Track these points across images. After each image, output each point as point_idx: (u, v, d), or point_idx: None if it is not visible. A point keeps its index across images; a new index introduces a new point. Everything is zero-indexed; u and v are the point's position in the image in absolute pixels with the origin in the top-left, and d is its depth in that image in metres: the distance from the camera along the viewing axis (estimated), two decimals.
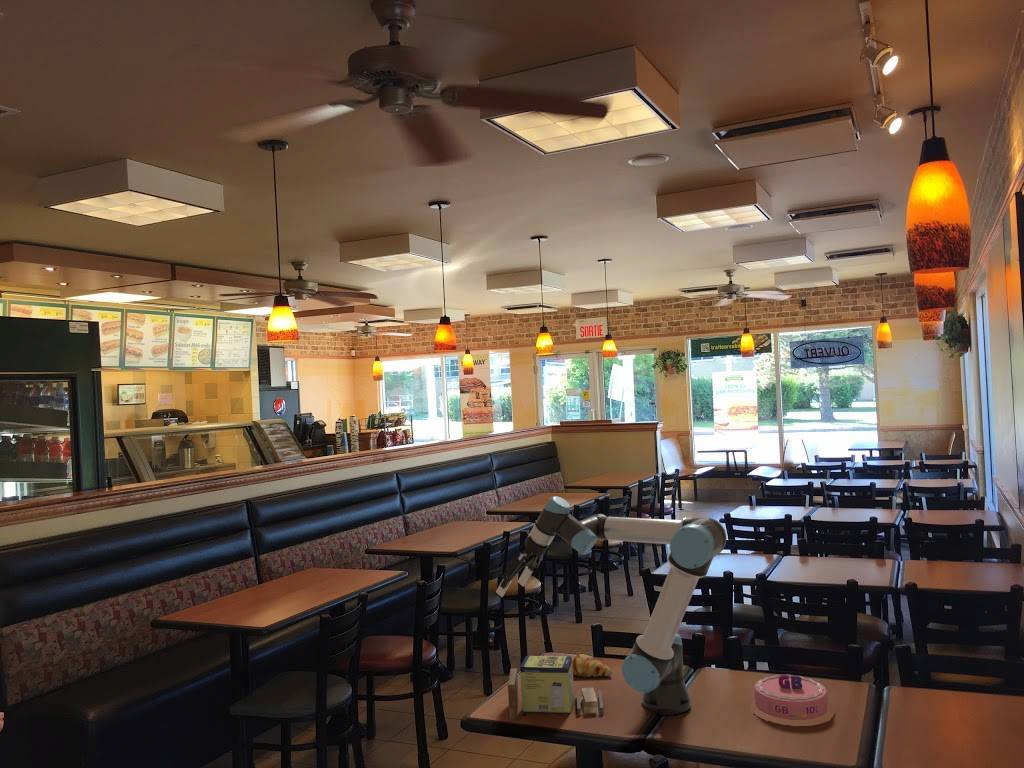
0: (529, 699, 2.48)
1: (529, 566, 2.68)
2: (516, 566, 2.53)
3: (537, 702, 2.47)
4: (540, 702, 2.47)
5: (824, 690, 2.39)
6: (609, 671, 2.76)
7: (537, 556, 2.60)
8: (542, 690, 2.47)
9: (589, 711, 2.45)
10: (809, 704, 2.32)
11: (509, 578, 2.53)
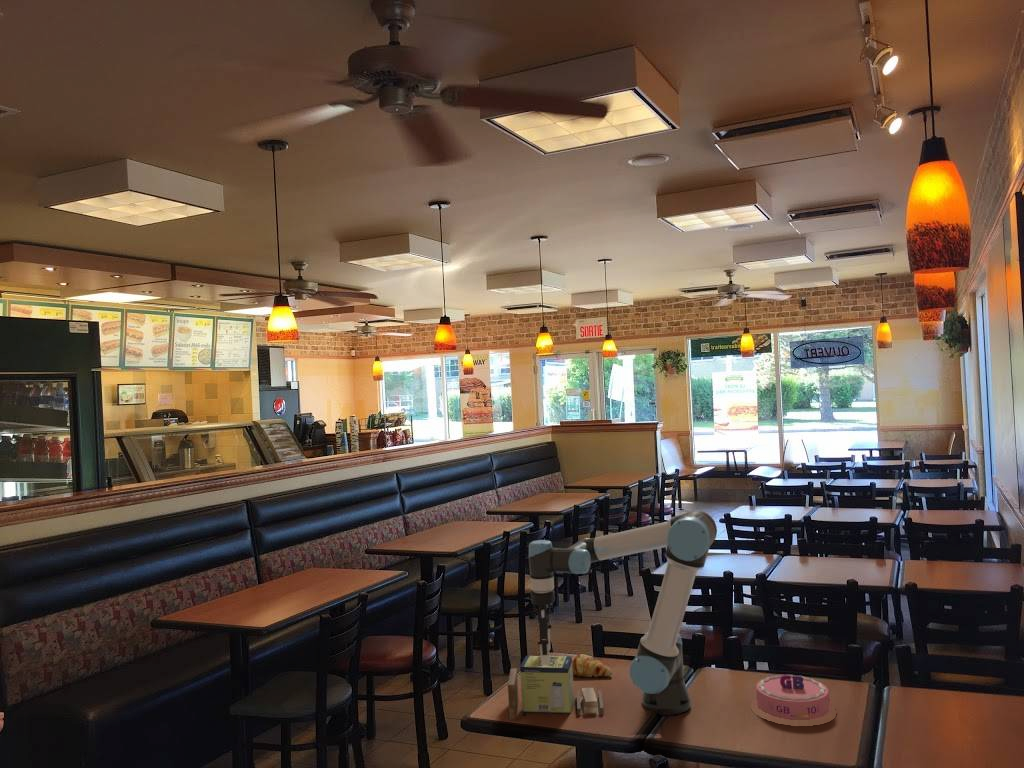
0: (529, 699, 2.48)
1: None
2: (545, 624, 2.44)
3: (537, 702, 2.47)
4: (540, 702, 2.47)
5: (826, 690, 2.39)
6: (609, 671, 2.76)
7: (549, 607, 2.53)
8: (542, 690, 2.47)
9: (589, 711, 2.45)
10: (810, 704, 2.32)
11: (547, 639, 2.42)
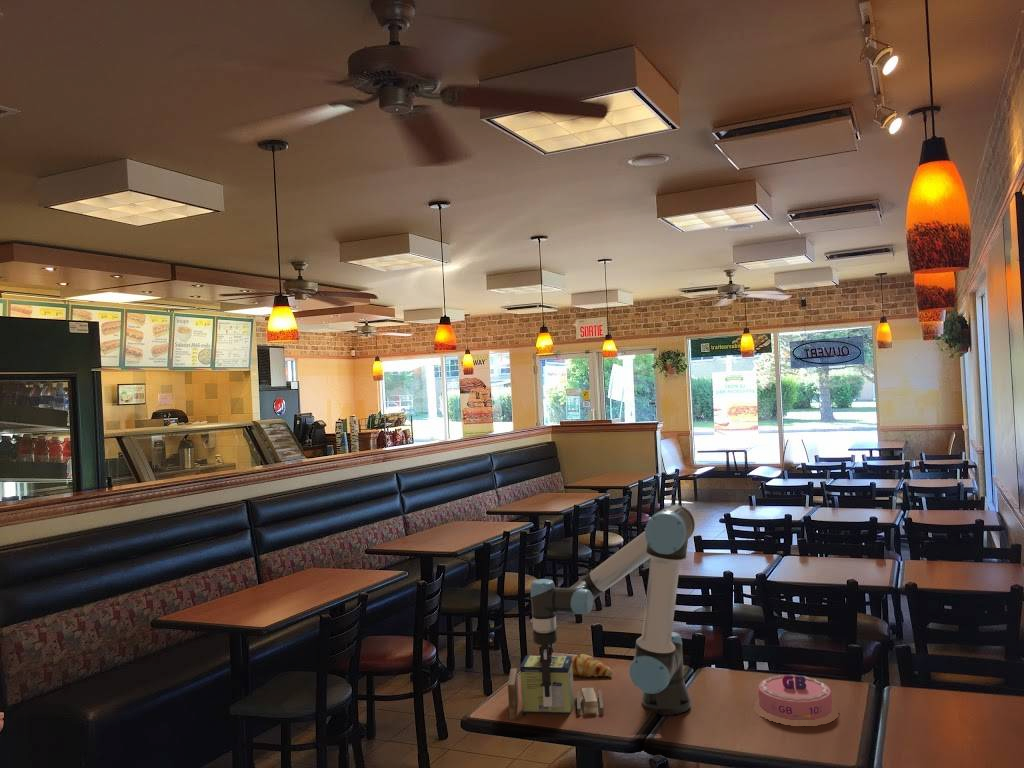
0: (529, 699, 2.47)
1: None
2: (547, 666, 2.44)
3: (537, 702, 2.47)
4: (541, 702, 2.47)
5: (828, 690, 2.39)
6: (609, 671, 2.76)
7: (551, 646, 2.53)
8: (542, 689, 2.47)
9: (589, 711, 2.45)
10: (813, 704, 2.32)
11: (550, 681, 2.43)
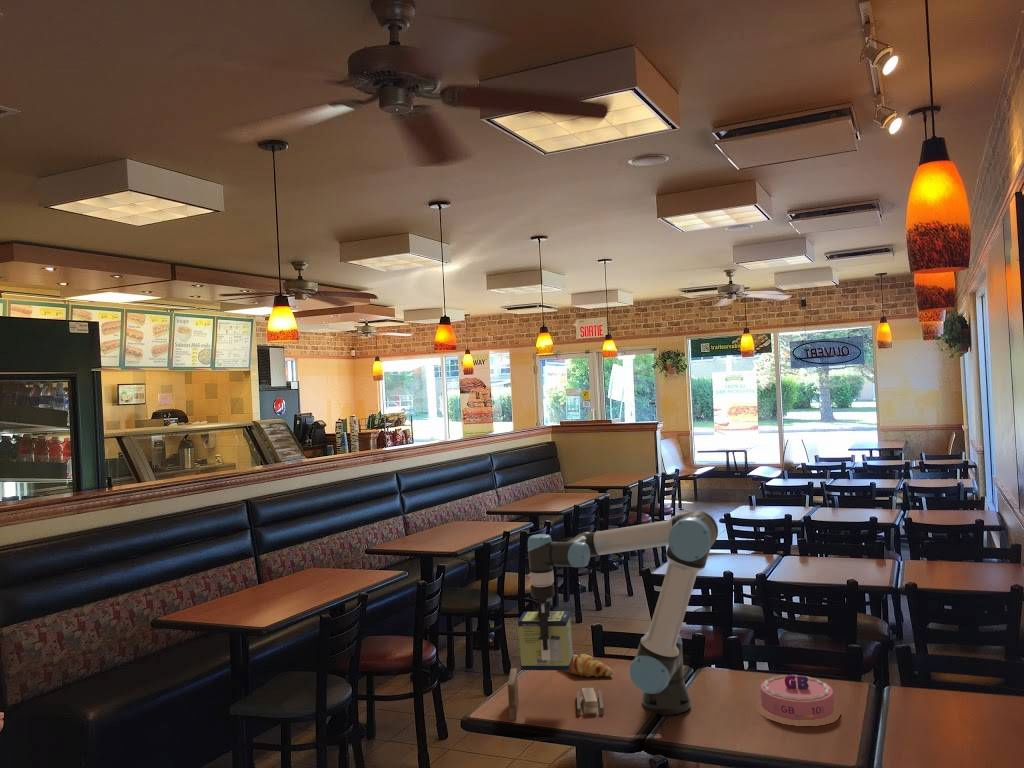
0: (528, 653, 2.47)
1: None
2: (545, 619, 2.44)
3: (535, 656, 2.47)
4: (539, 656, 2.47)
5: (830, 690, 2.38)
6: (609, 671, 2.76)
7: (549, 601, 2.53)
8: (540, 643, 2.47)
9: (589, 711, 2.45)
10: (815, 704, 2.32)
11: (548, 634, 2.43)
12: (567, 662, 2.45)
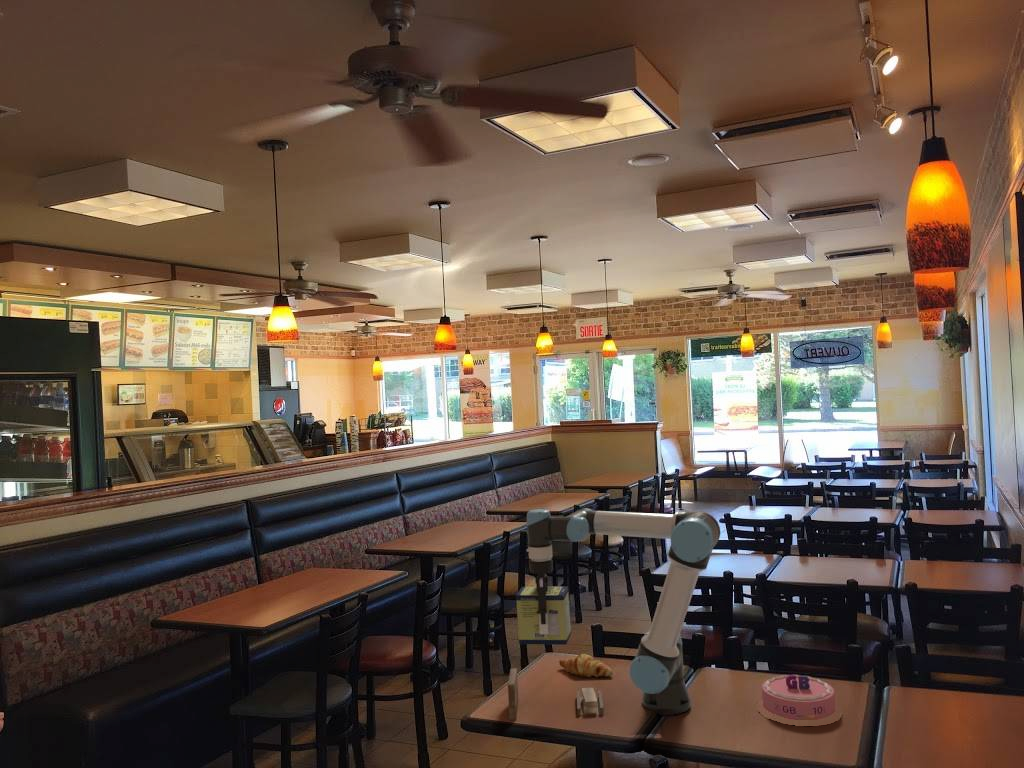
0: (525, 628, 2.48)
1: None
2: (543, 593, 2.44)
3: (533, 630, 2.47)
4: (537, 630, 2.47)
5: (832, 690, 2.38)
6: (610, 671, 2.76)
7: (547, 576, 2.53)
8: (538, 617, 2.47)
9: (589, 711, 2.45)
10: (816, 704, 2.32)
11: (546, 608, 2.43)
12: (565, 636, 2.45)
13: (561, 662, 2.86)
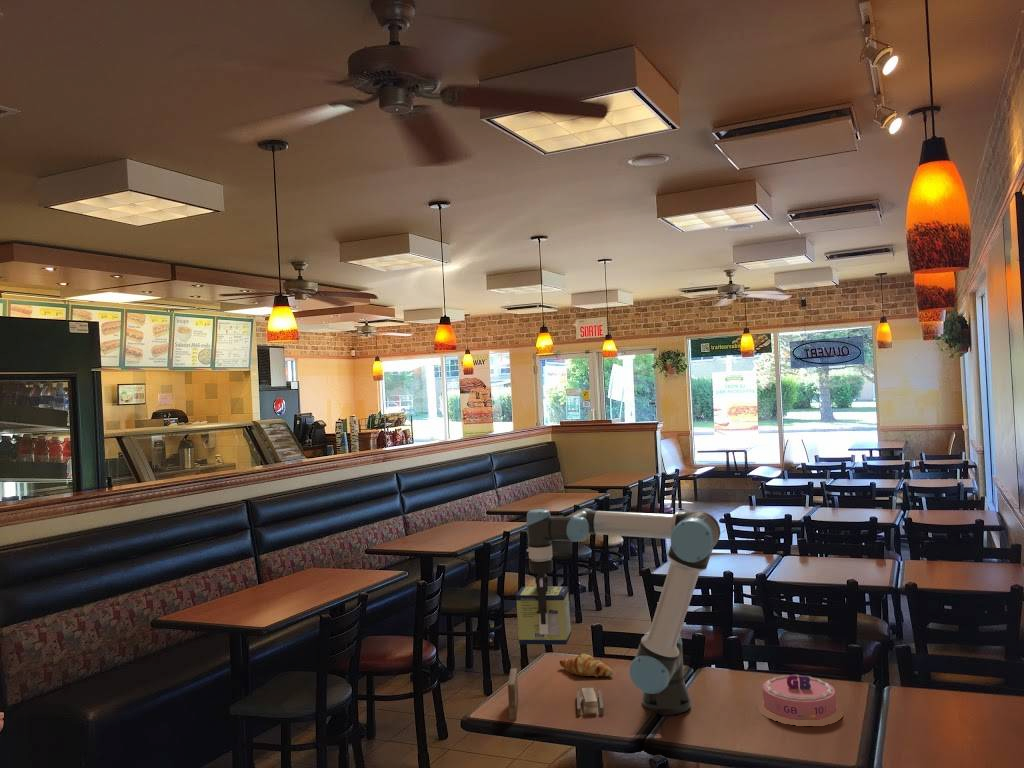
0: (525, 628, 2.48)
1: None
2: (543, 593, 2.44)
3: (533, 630, 2.47)
4: (537, 630, 2.47)
5: (833, 690, 2.38)
6: (610, 671, 2.76)
7: (547, 576, 2.53)
8: (538, 617, 2.47)
9: (589, 711, 2.45)
10: (817, 704, 2.32)
11: (546, 608, 2.43)
12: (565, 636, 2.45)
13: (561, 662, 2.86)
